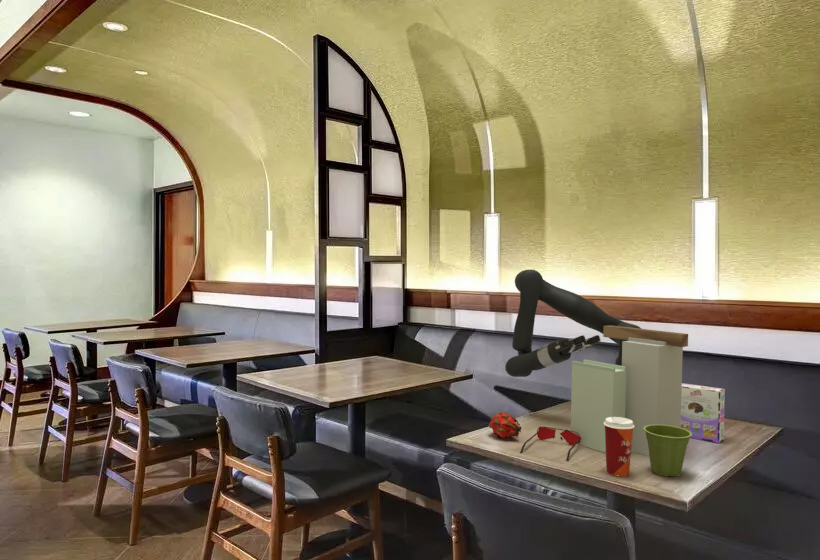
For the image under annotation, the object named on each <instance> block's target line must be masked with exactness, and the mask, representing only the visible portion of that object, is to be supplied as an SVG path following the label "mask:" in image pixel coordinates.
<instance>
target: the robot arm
mask: <svg viewBox="0 0 820 560" xmlns="http://www.w3.org/2000/svg"><path fill="white" fill-rule="evenodd" d="M514 286H515V288H516V289H517V291H518V292H519V295H520V296H519V297H520V299H519V300H520V301H519V307H518V311H517V312H518V313H517V317H516V319H515V323H514V328H513V336H512V343H511V344H512V346H511V347H512V349H513V350H515V351H517V355H515V356H512V357H510V358H509V359H508V360H507V361H506V363H505V366H504V367H505V371H506V374H508V375H509V376H511V377H514V378H515V377H517V378H519V377H520V378H523V377H525V378H526V377H530V376H531V374H532V372H533V371H541V370H542V369H545V368H548V367H553V366H556V365H558V364H560V363H564V362H566V361H568V360H569V359H570V358H571V356H572V353H577V352H581V351H583V350H585V349H589V348H592V347H594V344H597V343H599V342H600V343H601V338H600V335H599V334H598V335H597V334H596V335H594V336H592V337H588V338H586V336H585V335H580V336H576V337H574V338H569V339H568V338H567V339H562V338H559V339H556V340H554V341H551V342H550V343H546V344H544V345H543V346H541V347H539V348H537V349H534V350H533V349H532V344H533V337H534V329H535V328H534V327H535V321H536V320H535V318H536V313H537V307H538V303H539V301H540V302H542V303H544V304H546V305H547V306H549V307H550V308H552V309H554V310H555V311H556V312H558V313H560V314H561V315H563V316H565V317H566V318H568V319H570V320H572V321H574V322H576V323H578V324H579V325H581V326H583V327H586V328H589V329H592V330H593V331H597V332H599V333H600V334H602V335H603V329H604V326H608V325H612V326H621V327H630V328H639V329H642V327H640V326H639V325H637V324H634V323H630V322H626V321H623V320H620V319H618V318H616V317H614V316H612V315H610V314H608V313H607V312H605V311H604V310H603V309H602V308H601V307H599V306H597V304H595V303H593V302H592V301H591V300H589V299H587V298H585V297H583V296H581V295H579V294H577V293H575V292H572V291H569V290H568V289H567V290H566V289H565V288H561V287H559V286H556V285H554V284H551V283H550V282H548V281H547V280H545V279H543V276H542V274H541V273H540V272H539V271H537V270H535V269H525V270H522V271H520V272H519V273H517V275H515V277H514ZM609 340H611V341H613V342H614V343H616V344H617V345H618V356H617V357H616V358H615V364H614V365H619V366H622V341H628V340H623V339H616V338H609Z"/></svg>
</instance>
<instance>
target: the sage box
mask: <svg viewBox="0 0 820 560" xmlns="http://www.w3.org/2000/svg"><path fill="white" fill-rule="evenodd" d="M570 394H571V395H570V396H571V397H570V400H571V401H570V403H571V404H570V431H574V432H572V433H574V434H576V435H578V434H579V435H578V436H580V437H581V440H580V443H578V444H577V445H579V444H580V446H582V445H583V447H585V448H589V449H592V450H596V451H598V452H602V453H604V454H606V444H605V425H604V422H605V419H606V418H608V417H622V418H625V406H626V367H624V366H619V365H615V364H612V363H608V362H607V363H605V362H601V361H600V362H599V361H595V360H589V359H583V361H582V362H581V361H577V360H571V393H570ZM575 432H577V433H578V434H577V433H575Z"/></svg>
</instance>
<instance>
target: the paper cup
mask: <svg viewBox="0 0 820 560" xmlns="http://www.w3.org/2000/svg"><path fill="white" fill-rule="evenodd" d="M604 425H605V444H606V453H605V462H606V464H605V465H606V467H605V468H606V473H607V472H608V474H609V473H610V474H609V475H611V474H613V475H612V476H614V475H619V476H618V477H626V476H625V475H628V474H629V475H630V467H631V456H632V451H631V447H632V436H633V428H634V425H633V421H632V420H630V419H627V418H622V417H608V418H606V419H605V422H604ZM629 475H628V476H629Z"/></svg>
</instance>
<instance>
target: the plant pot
mask: <svg viewBox="0 0 820 560" xmlns="http://www.w3.org/2000/svg"><path fill="white" fill-rule="evenodd" d="M643 429H644V431H645V432H646V438H647V441H648V448H649V456H650V457H649V456H648V457H649V463H650V470H651V471H652V472H653V473H654V474H656V475H659V476H662V475H663V476H662V477H670V476H671V477H674V476H676V477H679V476H680V475H681V473H682V469H683V465H684V460H685V456H686V451H687V446H688V445H689V441H690V439H691V438H690V437H691V436H692V433H691V432H690V431H688V430H686V429H683V428H680V427H675V426H670V425H657V424H656V425H647V426H644V428H643ZM678 475H679V476H678Z"/></svg>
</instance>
